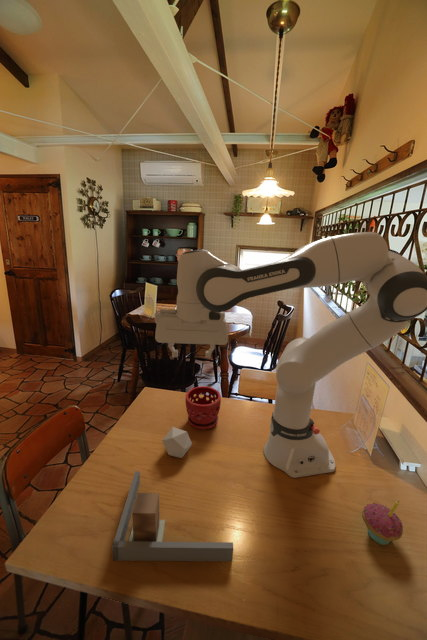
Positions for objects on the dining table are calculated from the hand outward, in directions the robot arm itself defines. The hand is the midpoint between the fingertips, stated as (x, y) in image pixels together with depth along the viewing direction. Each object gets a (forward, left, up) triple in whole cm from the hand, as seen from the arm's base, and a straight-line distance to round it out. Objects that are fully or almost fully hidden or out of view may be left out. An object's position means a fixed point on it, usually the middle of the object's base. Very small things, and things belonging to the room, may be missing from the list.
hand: (191, 357), depth 80 cm
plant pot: (-4, -18, -35) cm, 40 cm away
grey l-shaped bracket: (+1, +20, -35) cm, 40 cm away
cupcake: (-48, +24, -35) cm, 64 cm away
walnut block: (+8, +25, -35) cm, 44 cm away
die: (+4, -2, -35) cm, 36 cm away
